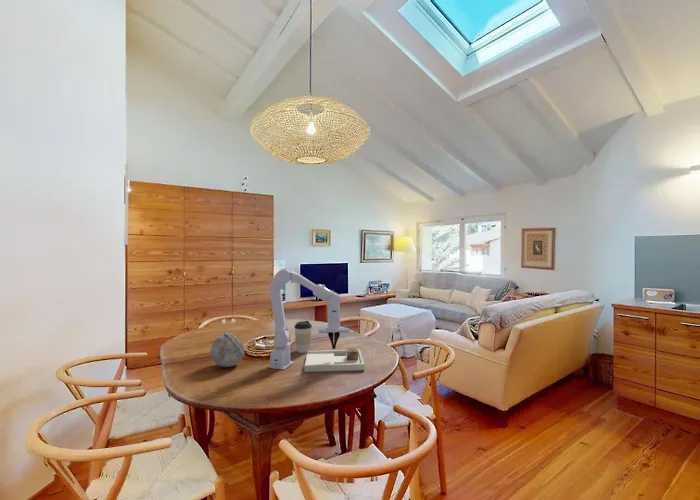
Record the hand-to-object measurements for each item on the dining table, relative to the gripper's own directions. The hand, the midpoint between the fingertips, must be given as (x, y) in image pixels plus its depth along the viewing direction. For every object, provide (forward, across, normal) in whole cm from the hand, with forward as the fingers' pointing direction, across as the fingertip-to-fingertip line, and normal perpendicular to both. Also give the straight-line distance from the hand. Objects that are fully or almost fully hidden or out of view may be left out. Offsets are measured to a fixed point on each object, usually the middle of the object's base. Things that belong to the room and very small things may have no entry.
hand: (333, 348), depth 149 cm
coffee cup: (+7, -16, +20) cm, 26 cm away
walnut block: (+5, +9, 0) cm, 10 cm away
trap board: (+7, 0, 0) cm, 7 cm away
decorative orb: (+8, -48, 0) cm, 49 cm away
